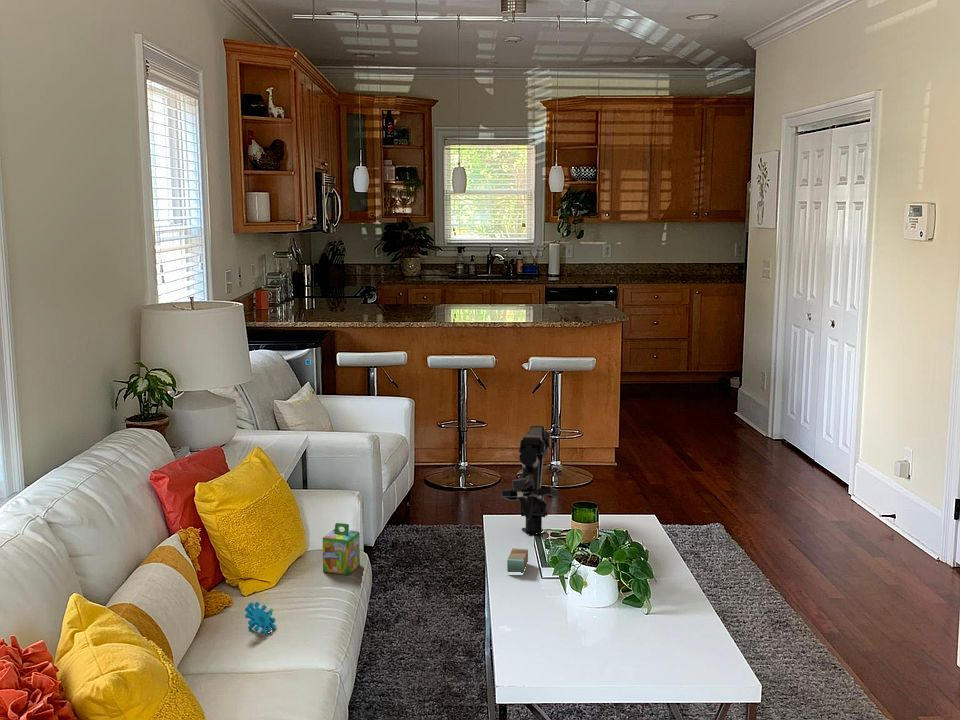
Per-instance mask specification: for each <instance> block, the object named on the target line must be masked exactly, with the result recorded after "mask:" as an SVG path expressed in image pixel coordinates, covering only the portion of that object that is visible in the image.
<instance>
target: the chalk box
mask: <svg viewBox="0 0 960 720" xmlns="http://www.w3.org/2000/svg"><path fill="white" fill-rule="evenodd" d="M349 525H350V524H348V523H342V522H341V523H340V522H336V523H335V524H334V529H333V530H331V531H329V532H328V533H327V534H326V535H325V536H324V537H322V572H323V573H330V574H338V575H345V576H350V575H351V573H353V572H354V571H355V570H356V569H358V568H359V566H360V565H361V548H360V547H361V544H360V543H361V541H360V538H361V537H360V535H361V534H360V531H357V530H350V529H349V528H350V526H349ZM341 527H342V528H343V529H341Z"/></svg>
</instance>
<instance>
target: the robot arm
mask: <svg viewBox="0 0 960 720" xmlns="http://www.w3.org/2000/svg"><path fill="white" fill-rule="evenodd" d="M545 427H546V426H543V425H530V427H529V428H530V430H529V431H528V432H527V435H524V436H523V437H522V439H521V440H520V443H519V444H520V445H519V450H518V453H519V460H520V463H521V466H522V469H521V470H522V471H521V474H520V473H519V478H515V479H512V480H511V483H512V484H511V485H512V488H504V489H502V491H501V498H503V499H505V500H508V501H519V502H520V516H521V517H525V527H521V530H522V531H523V532H524V533H525V532H526V533H525V534H527V535H528V534H529V535H528V536H533V535H532V534H536V533H541V532H542V531H543V530H544V529H543V527H542V526H543V525H542V524H543V518H546V517H548V504H547V502H546V500H545V496H547V497H548V498H549V499H557V498H558V490H557V489H556V488H554V487H552V486H542V479H543V477H542V476H543V467H544V459H545V458H546V457H547V456H548V455H549V452H550V451H549V449H551V446H552V439H551V438H552V437H551V433H549V431H548V430H546V428H545ZM536 535H537V534H536Z"/></svg>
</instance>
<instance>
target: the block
mask: <svg viewBox="0 0 960 720" xmlns="http://www.w3.org/2000/svg"><path fill="white" fill-rule="evenodd" d="M506 562H507V563H506V567H507V570H506V571H508V572H521V573H523V572H524V569H525V567H526V565H527V562H528V563H529V548H515V547H514V548H512V549H511V550H510V554H509V555H508V558H507V561H506ZM527 566H528V565H527Z"/></svg>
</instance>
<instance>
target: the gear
mask: <svg viewBox="0 0 960 720" xmlns="http://www.w3.org/2000/svg"><path fill="white" fill-rule="evenodd" d="M259 606H261V607H259ZM266 609H268V607H267V606H266V605H265V604H263V605H261V603H260V602H258V601H256V602H249V603H248V604H247V606H246V607H245V608H244V611H245V612H246V613H245V614H244V618H245V619H249V620H248V621H247V624H248V626H247V629H248V630H249V629H251V630H252V629H253V630H254V631H255V632H256V633H257V632H258V631H260V634H262V635H266V634H267V632H270V631H271V630H272V629H271V628H274V629H275V628H276V626H277V625H276V624H274V623H275V622H276V618H275V617H272V615H273V612H274V609H273V608H270V609H269V610H267V611H266ZM260 628H261V630H260ZM272 631H273V630H272Z"/></svg>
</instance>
